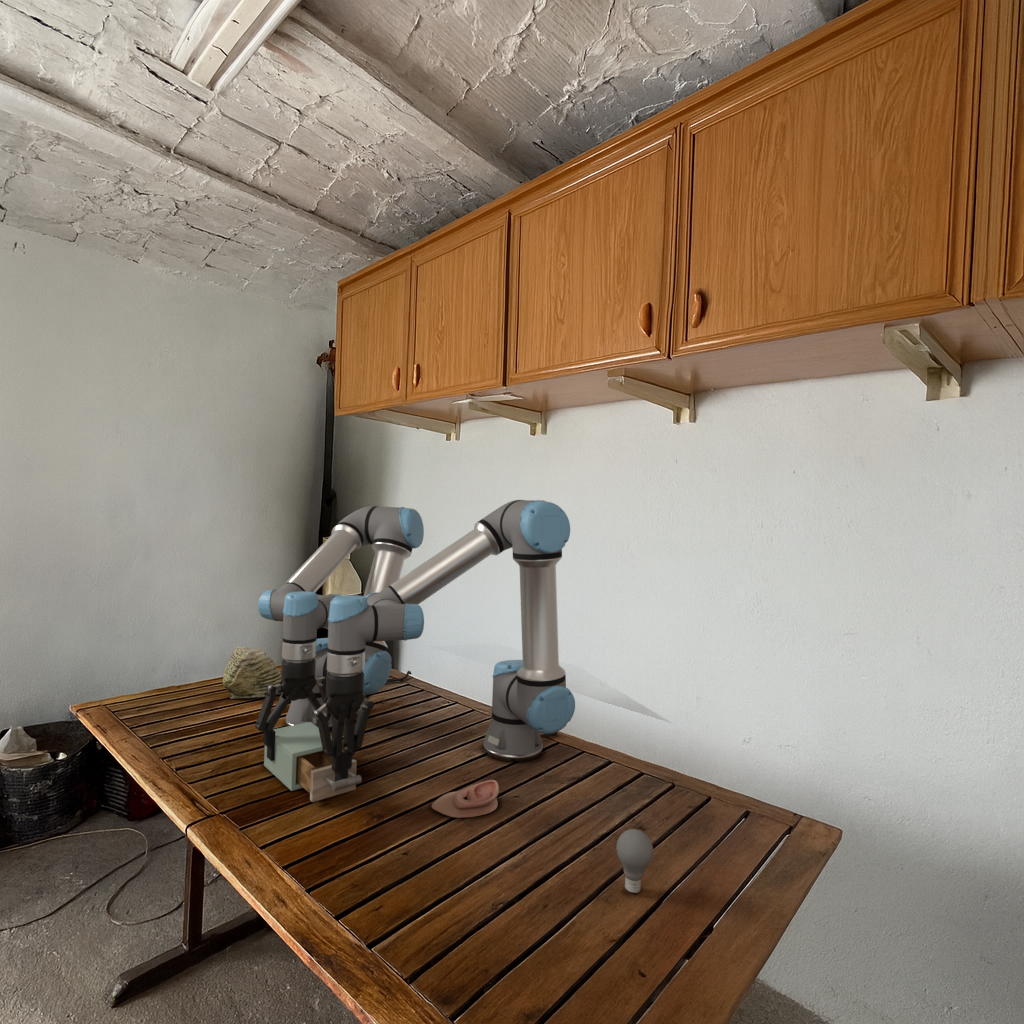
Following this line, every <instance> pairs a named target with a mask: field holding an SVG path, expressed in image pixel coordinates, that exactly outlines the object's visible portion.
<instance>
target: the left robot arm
mask: <svg viewBox="0 0 1024 1024" xmlns="http://www.w3.org/2000/svg"><path fill="white" fill-rule="evenodd" d="M424 535H425V528H424V522H423V518H422V516H421V515H420V512H418V510H416V509H415V508H411V507H404V506H401V507H399V506H378V505H368V506H363V507H361V508H359V509H357V510H355V511H353V512H351V513H349V514H348V515H347V516H345V517H343V518H342V519H341V520H340V521H339V522H338V523H336V525H335V526H333V528H332V530H331V533H330V536H329V537H328V538H327V539H326V540H325V541H324V542H323V543H322V544H321V545H320V546H319V547H318V548H317V549H316V551H314V552H313V554H311V555H310V556H309V558H308V559H306V561H305V562H304V563H302V564H301V566H300V567H299V568H298V569H297V570H296V571H295V572H294V573H293V574H292V575H291V576H290V577H289V578H288V579H287V580H286V581H285V582H284V584H282V585H281V586H280V588H279V589H268V590H264V592H262V593H261V594H260V596H259V599H258V602H257V610H258V613H259V615H260V616H261V618H263V619H266V620H270V621H274V622H283V623H282V624H283V625H282V626H283V627H282V628H283V630H282V647H281V658H282V659H283V660H282V661H281V669H280V672H281V678H282V679H281V682H280V684H278V685H271V684H269V685H267V695H266V696H265V697H264V700H263V703H262V705H261V708H260V711H259V714H258V716H257V719H256V722H255V724H254V727H255V728H256V729H257V730H258V731H259V732H263V737H262V738H263V741H262V743H263V745H264V746H265V745H266V746H267V758H268V759H269V760H271V761H273V760H275V731H274V730H273V729H275V726H276V725H277V723H278V721H279V720H280V718H281V716H282V715H283V713H284V712H285V710H286V709H287V707H288V706H289V708H288V711H287V713H286V715H285V727H287V726H292V725H297V724H302V723H307V722H311V723H313V724H314V725H315V726H317V727H318V723H317V719H316V718H315V717H314V715H313V713H312V711H313V710H314V709H319V708H320V707H321V706H322V705H323V704H324V699H325V697H326V675H327V674H328V671H327V651H328V637H321V638H317V637H318V635H317V634H318V630H320V629H324V628H328V623H329V621H328V618H329V610H330V602H331V600H332V599H333V598H334V597H337V596H342V594H339V593H329V594H327V595H323V594H318V593H316V592H318V590H319V589H320V588H321V587H322V586H323V585H324V584H325V582H326V581H327V580H328V579H329V578H330V577H331V576H332V575H333V573H334V572H336V570H337V569H338V568H339V567H340V566H341V565H342V564H343V563H344V561H345V560H347V558H348V557H349V556H350V555H351V553H355V552H358V550H360V548H361V547H363V546H367V545H371V549H372V550H373V551H374V556H373V560H372V564H371V567H370V570H369V574H368V578H367V582H366V585H365V589H364V593H363V595H362V596H363V597H365V596H366V595H368V594H370V593H377V592H378V593H379V592H380V591H382V590H383V589H385V588H387V587H388V586H390V585H391V584H393V583H394V582H396V581H397V580H399V579H400V578H401V574H402V571H403V567H404V562H405V560H407V559H408V558H410V557H411V556H412V552H413V549H418V548H419V547H421V545H422V544H423V542H424ZM392 662H393V660H392V656H391V654H390V653H389V652H388V644H387V643H386V641H374V642H366V645H365V666H364V670H363V671H362V672H363V673H364V689H363V693H364V696H365V698H366V697H367V695H374V694H376V693H378V692H380V690H382V689H383V688H384V686H385V685H386V684H389V683H397V682H401V681H404V680H406V679H407V678H408V677H409V676H410V675H412V672H411V670H407V672H406V674H405V675H404V676H403V677H399V678H392V679H389V678H390V675H391V671H392V665H393V664H392ZM279 690H281V691H282V692H283V693H280V696H279V697H278V701H277V703H276V704H275V706H273V705H274V703H275V700H276V696H277V695H279V694H278V691H279ZM273 707H274V708H273ZM331 717H332V715H331V714H330V712H329V711H328V710H327V717H326V719H327V721H328V726H329V730H332V719H331Z"/></svg>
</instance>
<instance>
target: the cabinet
mask: <svg viewBox="0 0 1024 1024" xmlns="http://www.w3.org/2000/svg"><path fill="white" fill-rule="evenodd" d="M273 730H274V731H275V760H273V761H271V760H269V759H268V758H267V746H266V745H264V756H263V759H264V760H263V766H264V767H265V768H266V769H267V770H268V771H269V772H270V773H271V774H272V775H274V776H275V777H276V778H277V779H278V780H279V781H280V782H281V783H282V784H283V785H284V786H285V787H286V788H288V789H289V791H291V792H292V791H297V790H301V789H304V788H303V787H302V786H301V785H300V784H299V783H298V782H297V781H296V762H297V757H298V756H302V755H306V754H311V753H315V752H319V751H323V748H322V743H321V738H320V733H319V728H318V727H317V726H315V725H314V724H313V723H311V722H307V723H302V724H297V725H292V726H284V727H278V728H273ZM331 741H332V736H331Z"/></svg>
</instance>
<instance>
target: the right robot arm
mask: <svg viewBox="0 0 1024 1024" xmlns="http://www.w3.org/2000/svg"><path fill="white" fill-rule="evenodd" d="M473 527H474V528H473V529H472V530H470V531H469V532H468V533H466V534H464V535H463V536H462V537H460V538H459V539H457V540H456V541H454V542H453V543H451V544H449V545H448V546H447V547H445V548H444V549H442V550H440V551H439V552H438V553H436V554H435V555H433V556H432V557H430V558H428V559H427V560H426V561H424V562H423V563H421V564H419V565H418V566H417V567H416V568H414V569H412V570H411V571H409V572H408V573H406V574H405V575H403V576H402V577H400V579H399V580H397V581H396V582H394V583H393V584H391V585H390V586H388V587H387V588H385V589H383V590H382V591H380V592H379V593H378V592H377V593H370V594H368V595H366V596H365V597H363V596H364V595H357V594H356V595H354V594H353V595H352V594H343V595H342V594H341V595H342V596H337V597H334V598H333V599H332V600H331V602H330V610H329V618H328V621H329V623H328V627H327V628H328V629H327V638H328V651H327V671H328V674H327V675H326V697H325V699H324V704H323V705H322V706H321V707H320V708H319V709H314V710H313V711H312V713H313V715H314V717H315V718H316V719H317V723H318V728H319V733H320V738H321V743H322V748H323V752H324V753H326V754H327V755H328V756H332V770H333V771H334V772H335V781H339V780H342V779H346V778H348V769H351V767H352V760H353V756H354V755H355V754H356V750H360V749H361V748H362V746H363V743H364V738H365V735H366V731H367V726H368V722H369V719H370V714H371V712H372V711H373V708H374V707H375V702H374V701H372V700H371V699H369V698H366V697H365V696H364V693H363V689H364V673H363V672H362V671H363V670H364V666H365V645H366V642H374V641H385V642H391V641H392V642H393V641H408V640H409V641H410V640H416V639H419V638H420V637H421V636H422V635H423V632H424V628H425V615H424V611H423V609H422V607H421V606H420V604H421V603H423V602H424V601H426V600H427V599H428V598H430V597H431V596H433V595H435V594H436V593H437V592H439V591H440V590H441V589H443V588H445V587H446V586H447V585H449V584H451V583H452V582H454V581H455V580H456V579H458V578H459V577H460V576H462V575H464V574H465V573H467V572H468V571H469V570H470V569H472V568H474V567H476V566H477V565H478V564H480V563H481V562H482V561H484V560H485V559H487V558H488V557H490V556H498V555H500V554H501V553H503V552H505V551H506V550H509V549H511V550H512V560H513V561H514V562H515V563H516V564H517V565H518V566H519V591H520V593H519V594H520V619H521V620H520V622H521V652H522V659H510V660H509V659H507V660H506V659H505V660H502V661H498V662H497V663H496V664H495V665H494V667H493V672H492V673H493V674H492V698H491V699H492V700H491V701H492V702H491V719H490V721H489V725H488V728H487V731H486V733H485V736H484V739H483V742H482V743H483V747H482V750H483V752H484V753H485V754H486V756H489V757H490V758H492V759H495V760H499V761H502V762H511V763H522V762H528V761H532V760H536V759H538V758H539V757H540V756H542V754H543V747H544V745H543V740H542V739H544V738H551V737H555V736H558V732H560V731H561V730H563V729H564V728H566V727H567V724H568V723H569V722H571V721H572V719H573V717H574V714H575V711H576V699H575V696H574V694H573V693H572V691H571V690H570V689H569V688H568V687H567V678H566V677H567V674H566V670H565V668H564V667H562V666H561V665H560V660H559V659H560V657H559V655H560V654H559V627H558V626H559V625H558V623H559V622H558V593H557V592H558V590H557V589H558V588H557V586H558V585H557V564H558V563H559V562H560V561H561V560H562V559H563V548H564V547H566V543H568V542H569V540H570V536H571V524H570V518H569V517H568V515H567V513H566V512H565V510H564V509H562V507H560V506H559V505H558V504H556V503H554V502H550V501H546V500H543V499H536V500H535V499H534V500H532V499H530V500H529V499H528V500H526V499H514V500H510V501H508V502H507V503H504V504H502V505H500V506H499V507H498V508H496V509H494V510H493V511H491V512H490V513H488V514H487V515H486V516H484V517H483V518H481V519H480V520H478V521H476V522H475V523H474V526H473ZM327 710H328V711H329V712H330V714H331V715H332V717H331V719H332V729H331V731H330V729H329V726H328V721H327V719H326V717H327ZM357 712H358V713H357ZM331 737H332V741H331Z"/></svg>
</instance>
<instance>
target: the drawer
mask: <svg viewBox="0 0 1024 1024" xmlns="http://www.w3.org/2000/svg"><path fill="white" fill-rule="evenodd" d="M357 763H358V761H357V760H356V759H355V758H354V759H353V758H352V767H351V769H348V778H346V779H342V780H339V781H335V772H334V771H333V770H332V756H328V755H327V754H326V753H324V752H323V751H319V752H315V753H311V754H306V755H302V756H298V757H297V762H296V781H297V782H298V783H299V784H300V785H301V786H302V787H303V788H302V789H304V790H305V791H306V792H308V793H309V801H310V802H311V803H314V802H318V801H322V800H325V799H328V798H331V797H335V796H338V795H341V794H344V793H348V792H351V791H355V790H357V789H356V788H357V785H360V784H362V781H363V780H362V779H363V778H362V775H360V774H357Z"/></svg>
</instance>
